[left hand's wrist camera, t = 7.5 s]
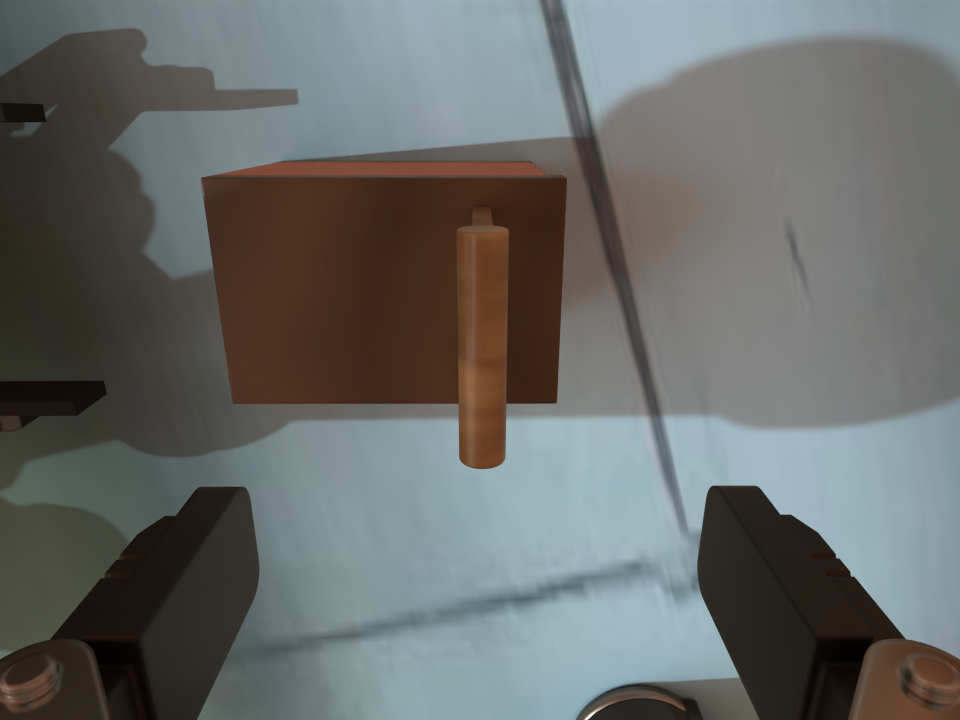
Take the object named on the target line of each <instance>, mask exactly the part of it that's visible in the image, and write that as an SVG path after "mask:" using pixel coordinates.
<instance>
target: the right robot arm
mask: <svg viewBox="0 0 960 720" xmlns="http://www.w3.org/2000/svg"><path fill="white" fill-rule="evenodd" d="M0 122H46V118H45V113H44V109H43V104H18V103H0ZM106 394H107V393H106V389H105V384H104V381H1V382H0V431H15V430H18V429H20V428H22V427H24V426H25V425H27V424H28V423H30V422H31V421H33V420H34V419H36V418H37V417H39V416H77V415H78V414H80V413H81V412H83V411H84V410H85V409H87V408H88V407H89V406H91V405H92V404H94V403H95V402H96V401H98V400H99V399H100V398H102V397H103V396H105V395H106Z"/></svg>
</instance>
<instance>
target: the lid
mask: <svg viewBox="0 0 960 720" xmlns="http://www.w3.org/2000/svg"><path fill="white" fill-rule="evenodd" d="M201 184H202V191H203V198H204V205H205V212H206V219H207V226H208V233H209V240H210V247H211V254H212V261H213V268H214V275H215V282H216V289H217V296H218V303H219V310H220V317H221V324H222V331H223V338H224V345H225V352H226V359H227V366H228V372H229V379H230V386H231V393H232V400H233V403H234V404H459V458H460V460H461V462H462V463H463V464H464V465H466V466H468V467H471V468H476V469H489V468H494V467H497V466H499V465H500V464H502V463H503V462H504V460H505V452H506V404H536V403H557V389H558V366H559V344H560V322H561V299H562V277H563V254H564V232H565V209H566V187H567V178H566V177H564V176H562V175H212V176H207V177H202V178H201Z"/></svg>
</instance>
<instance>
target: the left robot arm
mask: <svg viewBox="0 0 960 720" xmlns="http://www.w3.org/2000/svg"><path fill="white" fill-rule="evenodd" d="M697 572H698V581H699V587H700V591H701V594H702V597H703V599H704V602H705V604H706V606H707V608H708V610H709V612H710V614H711V617H712V619H713V621H714V623H715V625H716V627H717V629H718V632H719V634H720V636H721V638H722V640H723V642H724V644H725V647H726V649H727V651H728V653H729V655H730V657H731V659H732V661H733V664H734V666H735V668H736V670H737V672H738V674H739V676H740V679H741V681H742V683H743V685H744V687H745V689H746V691H747V693H748V696H749V698H750V700H751V702H752V704H753V706H754V708H755V711H756V713H757V715H758V717H759V719H760V720H960V659H958V658H957V657H955V656H953V655H951V654H949V653H947V652H945V651H943V650H941V649H938V648H936V647H933V646H930V645H928V644H925V643H921V642H917V641H913V640H906V639H905V638H904V636H903V635H902V634H901V633H900V632H899V630H898V629H897V628H896V627H895V626H894V624H893V623H892V622H891V621H890V620H889V618H888V617H887V616H886V615H885V613H884V612H883V611H882V610H881V609H880V607H879V606H878V605H877V604H876V603H875V601H874V600H873V599H872V598H871V596H870V595H869V594H868V593H867V592H866V590H865V589H864V588H863V587H862V586H861V584H860V583H859V582H858V581H857V579H856V578H855V577H851V575H850V571H849V570H848V569H847V567H846V566H845V565H844V564H843V562H842V561H841V560H840V559H836V554H835V553H834V552H833V550H832V549H831V548H830V547H829V545H828V544H827V543H826V542H825V541H824V539H823V538H822V537H821V536H820V535H819V533H818V532H816V531H815V530H813V529H812V528H810V527H809V526H807V525H806V524H804V523H803V522H801V521H800V520H798V519H797V518H795V517H794V516H792V515H780V514H779V512H778V511H777V510H776V508H775V507H774V506H773V505H772V503H771V502H770V501H769V499H768V498H767V497H766V495H765V494H764V493H763V491H762V490H761V489H760V488H759V487H757V486H712V487H710V489H709V491H708V493H707V497H706V503H705V511H704V518H703V525H702V532H701V540H700V547H699V554H698V563H697ZM258 580H259V558H258V550H257V543H256V536H255V529H254V522H253V515H252V508H251V501H250V496H249V493H248V491H247V489H246V488H245V487H199V488H198V489H196V490H195V492H194V493H193V494H192V495H191V497H190V498H189V499H188V501H187V502H186V503H185V504H184V506H183V507H182V508H181V510H180V511H179V512H178V513H177V515H176V516H164V517H163V518H161V519H160V520H158V521H157V522H155V523H154V524H152V525H151V526H149V527H148V528H146V529H145V530H143V531H142V532H140V533H139V534H137V536H136V537H135V538H134V539H133V540H132V542H131V543H130V544H129V545H128V546H127V548H126V549H125V550H124V551H123V552H122V554H121V555H120V559H119V560H116V561H115V562H114V563H113V564H112V566H111V567H110V568H109V569H108V571H107V572H106V573H105V577H104V578H101V579H100V580H99V581H98V583H97V584H96V585H95V586H94V587H93V589H92V590H91V591H90V592H89V593H88V595H87V596H86V597H85V598H84V599H83V601H82V602H81V603H80V604H79V605H78V607H77V608H76V609H75V610H74V611H73V613H72V614H71V615H70V616H69V617H68V619H67V620H66V621H65V622H64V623H63V625H62V626H61V627H60V628H59V629H58V631H57V632H56V633H55V634H54V635H53V637H52V638H51V639H50V640H47V641H43V642H39V643H35V644H32V645H30V646H27V647H24V648H22V649H19V650H17V651H15V652H13V653H11V654H9V655H7V656H5V657H3V658H2V659H0V720H197V718H198V716H199V714H200V712H201V710H202V708H203V706H204V703H205V701H206V699H207V697H208V695H209V693H210V691H211V689H212V687H213V684H214V682H215V680H216V678H217V676H218V674H219V672H220V670H221V668H222V665H223V663H224V661H225V659H226V657H227V655H228V653H229V651H230V649H231V646H232V644H233V642H234V640H235V638H236V636H237V634H238V632H239V630H240V627H241V625H242V623H243V621H244V619H245V617H246V615H247V613H248V611H249V609H250V606H251V604H252V602H253V600H254V597H255V594H256V591H257V586H258ZM576 720H703V717H702V715H701V712H700V709H699V707H698V704H697V701H695V700H681V699H680V698H678V697H677V696H675V695H674V694H672V693H670V692H667V691H665V690H662V689H658V688H653V687H645V686H634V687H625V688H620V689H616V690H613V691H610V692H608V693H605V694H603V695H601V696H599V697H598V698H596V699H594V700H593V701H592V702H590V703H589V704H588V705H587V706H586V707H585V708H584V709H583V710H582V711H581V713H580V714H579V715H578V717H577V719H576Z"/></svg>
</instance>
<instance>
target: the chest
mask: <svg viewBox="0 0 960 720" xmlns="http://www.w3.org/2000/svg"><path fill="white" fill-rule="evenodd" d="M218 175H546V174H545V173H544V172H543V171H541V170H540V169H539V168H537V167H536V166H535V165H534V164H532V162H531V161H281V162H276V163H273V164H268V165H263V166H258V167H253V168H248V169H243V170H238V171H233V172H228V173H223V174H218Z"/></svg>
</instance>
